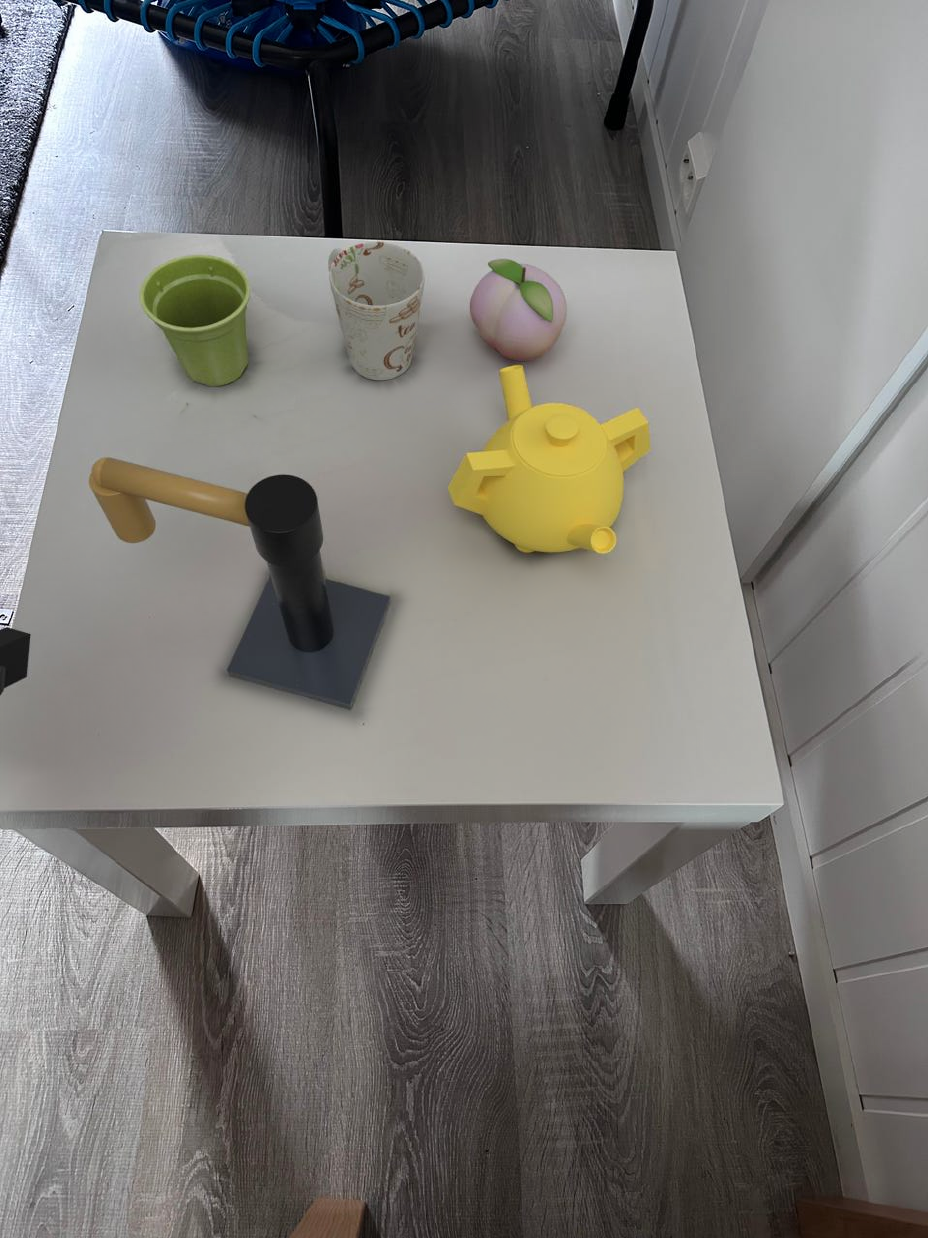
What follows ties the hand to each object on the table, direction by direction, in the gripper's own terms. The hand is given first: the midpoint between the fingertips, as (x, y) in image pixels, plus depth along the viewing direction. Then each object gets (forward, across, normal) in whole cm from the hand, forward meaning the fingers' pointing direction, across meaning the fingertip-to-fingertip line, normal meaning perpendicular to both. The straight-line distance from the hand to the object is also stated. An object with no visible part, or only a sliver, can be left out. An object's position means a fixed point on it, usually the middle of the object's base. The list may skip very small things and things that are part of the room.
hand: (16, 652), depth 48 cm
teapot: (+34, -26, -10) cm, 44 cm away
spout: (+13, -6, -5) cm, 15 cm away
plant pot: (+38, +8, -15) cm, 42 cm away
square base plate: (+21, -11, +2) cm, 24 cm away
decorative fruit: (+46, -19, -23) cm, 55 cm away
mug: (+43, -5, -20) cm, 48 cm away
